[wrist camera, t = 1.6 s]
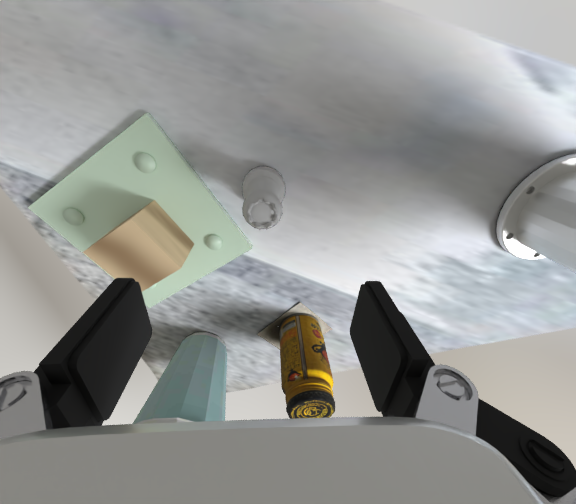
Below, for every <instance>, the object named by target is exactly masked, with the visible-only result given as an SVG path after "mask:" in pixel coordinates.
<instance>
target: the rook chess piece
mask: <svg viewBox="0 0 576 504" xmlns="http://www.w3.org/2000/svg"><path fill="white" fill-rule="evenodd" d="M242 190H243V196H244V198H245V201H244V204H243V207H242V210H243V216H244V218H245V220H246V221H247V222H248V223H249V224H250V225H251V226H253V227H254V228H257V229H269V228H271V227H273V226H275V225H276V224H277V223H278V222H279V221H280V219H281V216H282V205H281V202H282V201H283V198H284V196H285V182H284V180H283V177H282V175H280V174H279V173H278V172H277V171H276V170H275V169H273V168H270V167H268V166H262V167H256V168H254V169H252V170H250V171H249V173H248V174H247V175H246V176H245V178H244V181H243V184H242Z"/></svg>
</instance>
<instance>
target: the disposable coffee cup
mask: <svg viewBox="0 0 576 504" xmlns="http://www.w3.org/2000/svg"><path fill="white" fill-rule="evenodd" d="M226 369H227V352H226V346H225V343H224V342H223V341H222V340H221V339H220V338H219V337H218V336H216V335H213V334H211V333H208V332H198V333H194V334H192V335H189V336H187V337H186V339H184V340H183V341H182V343H181V345H180V346H179V348H178V349H177V351H176V353H175V354H174V356H173V358H172V359H171V361H170V363H169V364H168V366H167V368H166V369H165V371H164V373H163V374H162V376H161V378H160V379H159V381H158V383H157V384H156V386H155V388H154V389H153V391H152V393H151V394H150V396H149V398H148V399H147V401H146V403H145V405H144V406H143V408H142V409H141V411H140V413H139V414H138V416H137V418H136V419H135V421H134V422H133V424H150V423H176V422H203V421H225V399H226Z"/></svg>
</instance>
